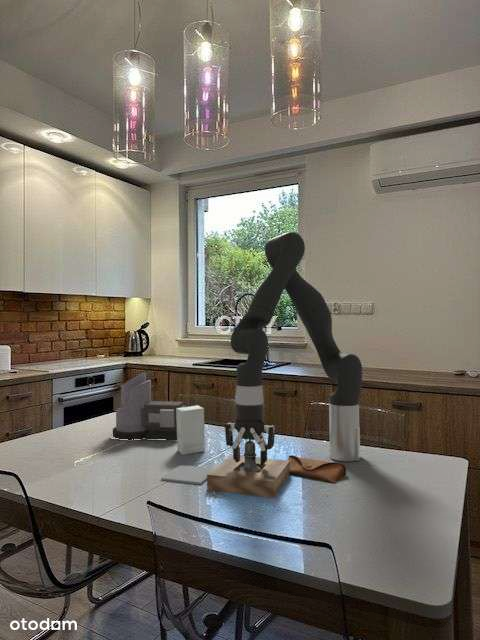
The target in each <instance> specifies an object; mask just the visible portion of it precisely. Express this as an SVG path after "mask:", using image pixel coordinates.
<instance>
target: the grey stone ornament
mask: <svg viewBox="0 0 480 640" xmlns="http://www.w3.org/2000/svg"><path fill="white" fill-rule="evenodd" d="M257 454H258V453H256V443H255V442H254V441H253V440H251V439H248V441H246V442H245V443H244V453H243V456H245V463H244V466H243V467H241V468H240V469H239V470H240V471H247V472H257V473H259V472H260V470H261V468H260V467H258V466H256V458H257Z"/></svg>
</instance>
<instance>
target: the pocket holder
mask: <svg viewBox="0 0 480 640" xmlns="http://www.w3.org/2000/svg"><path fill="white" fill-rule="evenodd" d="M244 463H245V456H244V455H240V461H239V462H235V460H234V459H233V454H232V455H231V454H230V455H229V456H228V457H226V458H225V459H224V460H222V462H220V463H219V464H218V465H217V466H215V467H214V469H213V470H212V471H211V472H209V473H208V474H207V480H206V490H207V491H214V492H221V493H222V492H223V493H231V494H237V495H239V494H240V495H245V496H246V495H247V496H256V497H264V498H272V499H274V498H276V496H277V494H278V493H279V492H280V490H281V489H282V487H283V486H284V485H285V483H286V482H287V480H288V478H289V476H291V475H290V461H289V460H288V459H276V458H267V461H266V462H265V464H264V465H261V463H260V457H256V466H258V467H260V468H261V470H260V472H259V473H257V472H247V471H240V470H239V469H240V468H241V467H243V466H244Z"/></svg>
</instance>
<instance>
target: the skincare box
mask: <svg viewBox="0 0 480 640" xmlns="http://www.w3.org/2000/svg"><path fill="white" fill-rule="evenodd" d="M176 420H177V441H176V442H177V443H176V446H177V449H176V450H177V451H178V452H179V453H180V454H181V455H182V456H184V455H189V454H195V453H201V452H205V451H206V443H205V442H206V439H205V408H204V407H201V406H200V405H199V404H196V405H191V406H186V407H182V408H176Z"/></svg>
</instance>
